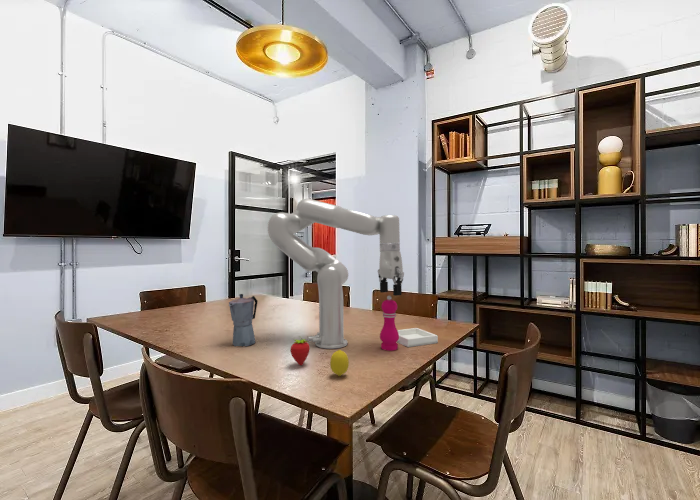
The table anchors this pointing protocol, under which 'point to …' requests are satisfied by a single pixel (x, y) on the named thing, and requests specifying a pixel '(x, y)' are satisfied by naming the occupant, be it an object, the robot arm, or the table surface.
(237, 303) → the moka pot
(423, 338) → the tray
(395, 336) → the pepper mill
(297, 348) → the strawberry
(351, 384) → the table surface
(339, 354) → the lemon
